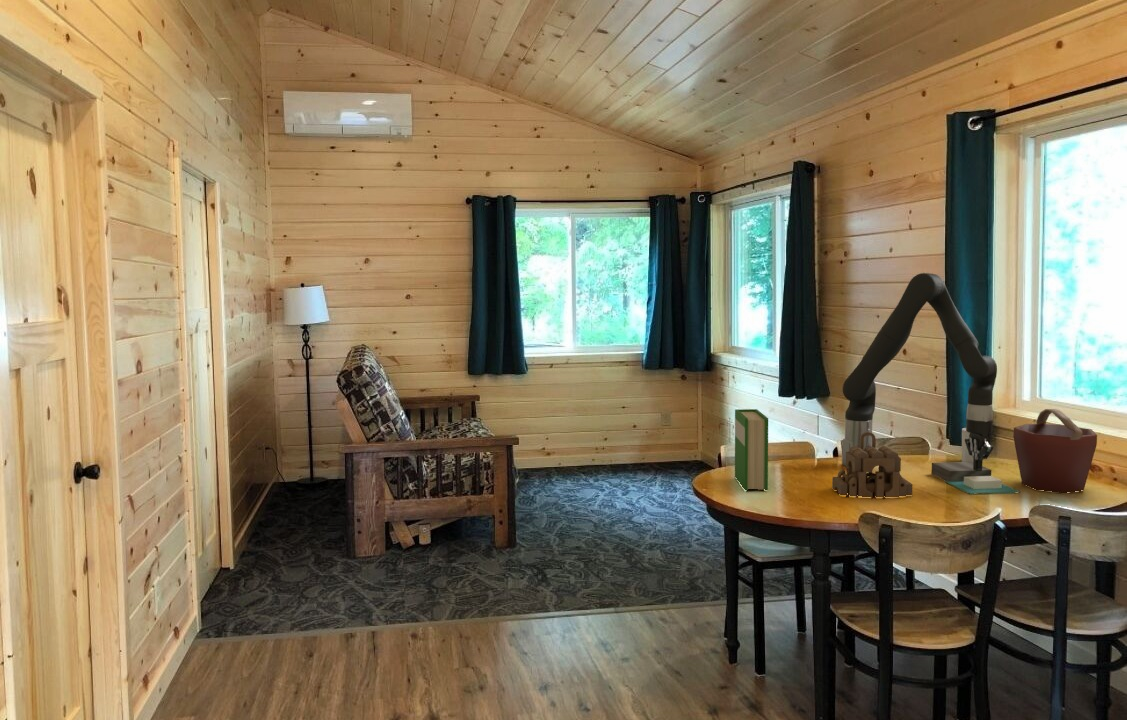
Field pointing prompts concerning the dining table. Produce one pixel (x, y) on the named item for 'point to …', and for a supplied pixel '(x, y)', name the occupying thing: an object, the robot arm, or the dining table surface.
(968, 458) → the mug
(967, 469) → the block
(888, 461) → the wooden puzzle
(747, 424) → the hardback book
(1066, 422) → the bucket
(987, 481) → the tile
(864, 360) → the robot arm
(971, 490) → the mat
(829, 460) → the dining table surface
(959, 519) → the dining table surface
